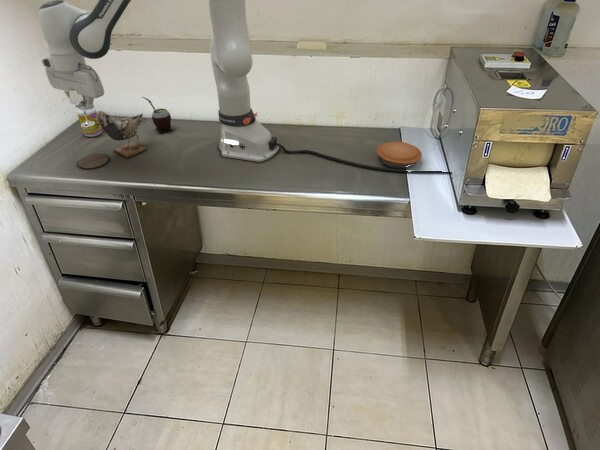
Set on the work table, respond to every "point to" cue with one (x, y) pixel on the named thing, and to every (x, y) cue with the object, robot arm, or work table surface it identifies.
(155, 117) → the mate gourd
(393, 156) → the pie
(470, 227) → the work table surface
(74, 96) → the wineglass
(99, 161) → the coaster
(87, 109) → the supplement bottle
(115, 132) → the stuffed bird
